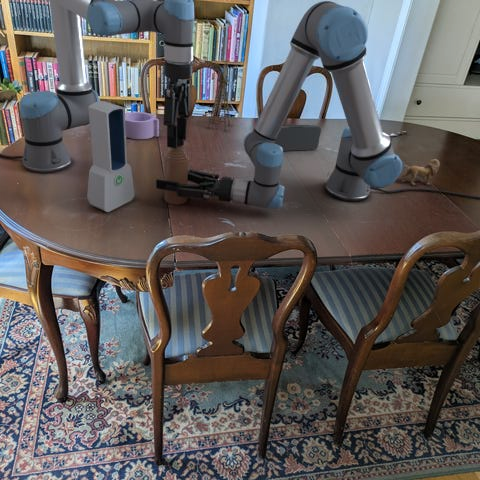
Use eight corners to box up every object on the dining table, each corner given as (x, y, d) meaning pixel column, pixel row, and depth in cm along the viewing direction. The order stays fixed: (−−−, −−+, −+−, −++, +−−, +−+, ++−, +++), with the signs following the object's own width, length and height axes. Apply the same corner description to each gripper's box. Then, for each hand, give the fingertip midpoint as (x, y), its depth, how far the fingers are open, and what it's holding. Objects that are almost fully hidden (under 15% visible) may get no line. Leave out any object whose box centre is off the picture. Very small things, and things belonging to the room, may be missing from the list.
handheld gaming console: (315, 147, 196) (319, 124, 190) (317, 149, 194) (322, 126, 188) (264, 149, 189) (267, 125, 183) (266, 152, 187) (269, 127, 181)
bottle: (165, 192, 150) (166, 134, 139) (188, 194, 150) (190, 136, 140) (162, 203, 144) (163, 143, 133) (186, 205, 144) (188, 145, 134)
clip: (108, 140, 182) (107, 123, 178) (105, 128, 191) (104, 112, 188) (160, 138, 188) (160, 121, 184) (154, 127, 198) (154, 111, 194)
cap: (186, 142, 139) (186, 136, 138) (180, 147, 135) (180, 141, 134) (173, 140, 139) (173, 134, 138) (167, 144, 136) (167, 138, 135)
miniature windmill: (225, 131, 202) (231, 58, 186) (207, 128, 203) (211, 56, 187) (230, 124, 210) (236, 54, 194) (212, 121, 211) (216, 51, 195)
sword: (403, 131, 224) (404, 129, 223) (408, 133, 222) (409, 131, 221) (360, 143, 208) (360, 140, 207) (365, 145, 206) (366, 142, 205)
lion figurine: (428, 178, 179) (435, 156, 174) (437, 184, 175) (445, 162, 170) (396, 181, 174) (403, 158, 169) (405, 187, 170) (412, 164, 165)
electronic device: (105, 214, 135) (97, 112, 119) (87, 205, 138) (77, 105, 122) (135, 199, 144) (132, 102, 128) (117, 191, 147) (112, 96, 131)
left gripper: (179, 53, 133) (177, 130, 146) (149, 66, 117) (150, 152, 130) (203, 57, 132) (200, 135, 144) (177, 71, 116) (175, 157, 128)
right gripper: (225, 216, 136) (149, 203, 138) (237, 187, 152) (170, 176, 155) (227, 193, 132) (149, 180, 134) (239, 166, 148) (170, 155, 151)
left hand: (176, 143), depth 137 cm, fingers open, 6 cm apart
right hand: (160, 178), depth 144 cm, fingers closed on bottle, 7 cm apart
